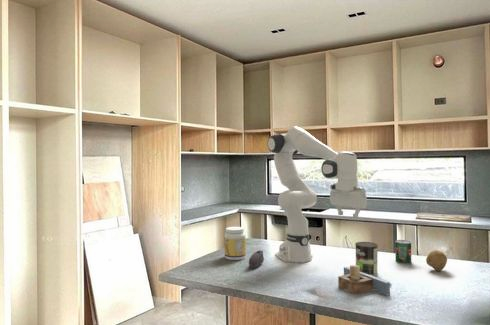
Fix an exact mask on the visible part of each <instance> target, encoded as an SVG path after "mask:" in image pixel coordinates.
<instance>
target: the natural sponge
mask: <svg viewBox="0 0 490 325" xmlns="http://www.w3.org/2000/svg"><path fill="white" fill-rule="evenodd" d="M425 262H426V264H427V265H428V266H429V267H431V268H432V269H433V270H435V271H437V272H441V271H442V270H444V269H445V267H446V265H447V263H448V257H447V255H446V254H445V253H444V252H442V251H440V250H436V249H435V250H432V251H430V252H428V254H427V257H426V259H425Z"/></svg>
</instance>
